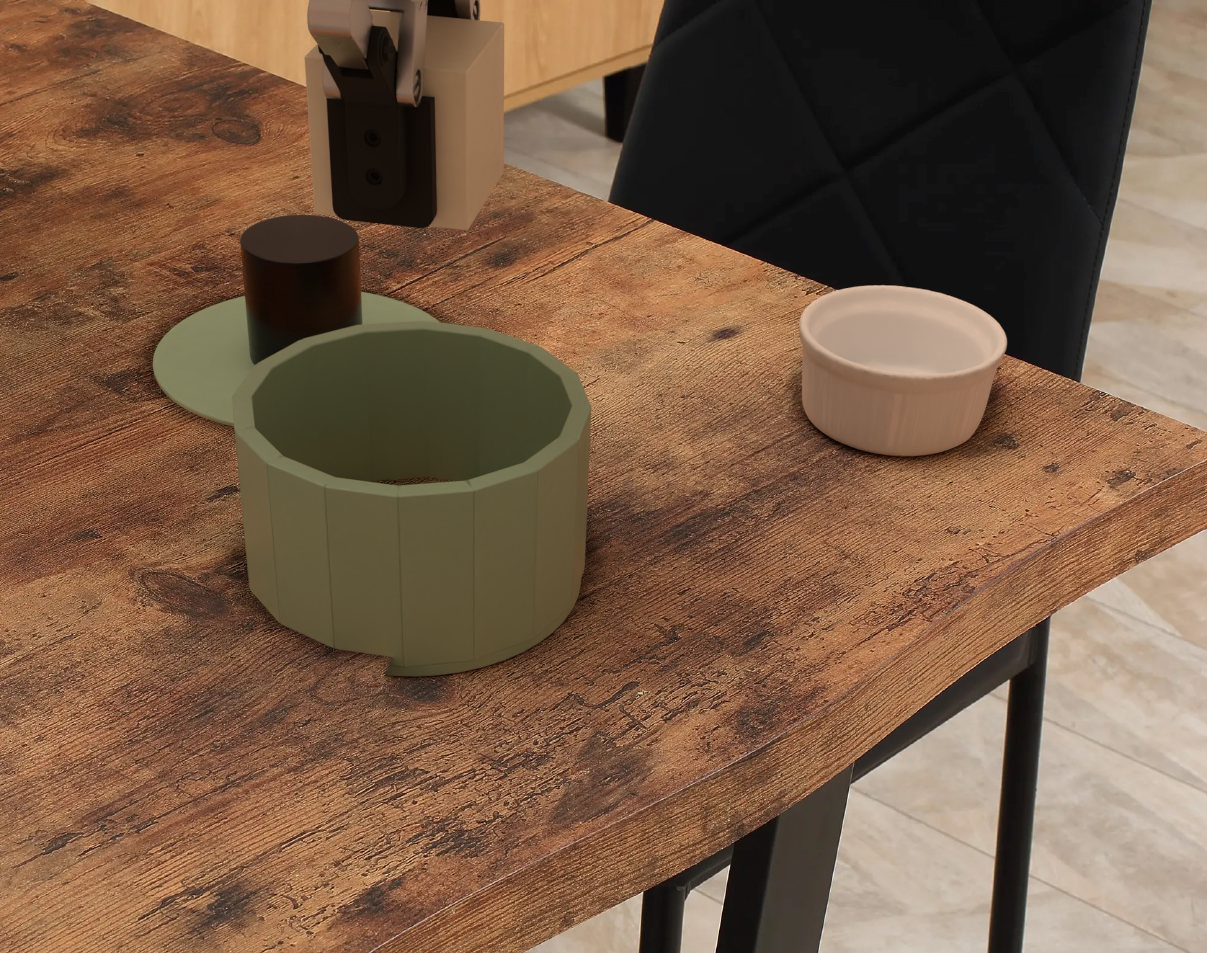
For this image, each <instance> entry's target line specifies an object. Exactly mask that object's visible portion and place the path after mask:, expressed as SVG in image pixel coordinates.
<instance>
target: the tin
mask: <svg viewBox="0 0 1207 953" xmlns="http://www.w3.org/2000/svg"><path fill="white" fill-rule="evenodd" d="M232 407H233V419H234V427H233V429H234V440H235V450H236V461H237V471H238V482H239V492H240V503H241V513H242V522H243V523H242V524H243V534H244V545H245V556H246V565H247V577H248V587H249V590H250V591H251V593H252V594H253V595H254V596H255V597H256V598H257V599H258V600H259V602H260V603H261V604H262V605H263V606H264V607H265V609H266V610H267V611H268V612H269V613H270V614H271V615H272V617H273V618H274V619H275V620H276V621H277V622H278V623H279V624H280V625H281V626H284V627H286V628H289V629H290V630H293V631H295V632H297V633H299V634H301V635H304V636H306V637H308V638H309V639H312V640H314V641H316V642H319V643H321V644H324V645H325V646H327V647H330V648H332V649H335V650H341V651H349V652H356V653H362V654H367V655H375V656H382V657H388V658H391V660H390V661H389V663H388V666H387V667H386V670H385V672H384V676H389V677H413V678H415V677H431V676H433V677H434V676H444V675H451V674H458V673H464V672H468V671H469V672H470V671H473V670H477V669H481V668H485V667H488V666H489V667H490V666H491V665H494V664H497V663H501V662H503V661H506V660H508V659H511V658H513V657H516V656H518V655H521V654H522V653H524V652H526V651H528V650H529V649H531V648H533V647H535V646H536V645H538V644H540V643H541V642H542V641H543V640H545V639H547V638H548V637H549V636H550V635H552V634H553V633H554V632H555V631H556V630H557V629H558V628H559V627H560V626H561V625H562V624H563V623H564V622H565V621H566V619H567V618H568V616H569V615H570V614H571V612H572V611H573V609H574V607H575V605H576V603H577V601H578V598H579V595H580V591H581V587H582V586H581V585H582V577H583V575H584V571H585V568H586V544H587V543H586V542H587V525H588V524H587V521H588V498H589V478H590V477H589V476H590V473H589V472H590V454H591V451H590V450H591V433H592V432H591V431H592V429H591V428H592V411H593V410H592V409H593V408H592V404H591V402H590V400H589V397H588V395H587V393H586V390H585V388H584V385H583V383H582V381H581V379H580V376H579V373H577V371H575V370H573V369H572V368H571V367H569V366H568V365H567V364H566V363H564V362H563V361H561V360H560V359H558V358H557V357H556V356H554V355H553V354H552V353H550V352H549V351H548V350H547V349H545V348H544V347H542V346H540V345H537V344H534V343H531V342H528V341H527V340H523V339H519V338H517V337H514V336H511V335H508V334H506V333H502V332H499V331H497V330H494V329H490V328H487V327H480V326H471V325H465V324H455V323H447V322H440V321H439V322H432V321H425V322H424V321H410V322H392V323H375V324H361V325H355V326H351V327H347V328H343V329H339V330H335V331H331V332H327V333H324V334H320V335H316V336H312V337H308V338H304V339H302V340H299V341H297V342H295V343H293V344H292V345H290V346H288V347H286V348H284V349H283V350H281V351H279V352H277V353H275V354H273V355H272V356H270V357H268V358H266V359H264V360H263V361H261V362H259V363H257V364H256V365H255V366H254V367H253V369H252V370H251V371H250V373H249V374H248V375H247V377H246V378H245V379H244V381H243V382H242V383H241V385H240V386H239V387H238V389H237V390H236V391H235V393H234V394H233V396H232ZM418 478H432V479H439V480H445V481H441V482H429V483H428V482H427V483H413V484H402V485H396V484H391V483H390V484H388V483H381V482H380V481H391V480H405V479H406V480H407V479H418ZM446 480H447V481H446Z"/></svg>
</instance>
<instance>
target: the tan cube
mask: <svg viewBox="0 0 1207 953" xmlns="http://www.w3.org/2000/svg"><path fill="white" fill-rule="evenodd" d="M369 10H370V9H369ZM370 12H371V14H372V16H373V19H372V23H373V25H374V26H383V27H386V28H387V30H388V32H389V34H390V36H391V38H392V39H393V43H394V45H395V48H396V50H398V28H399V13H396V12H390V11H381V10H370ZM304 71H305V72H304V73H305V87H306V102H307V118H308V119H307V120H308V135H309V150H310V152H309V153H310V166H311V168H310V169H311V182H312V198H313V200H312V201H313V212H314V214H316V215H321V216H332V217H333V216H334V217H338V216H337V215H336V214H335V213H334V211H333V206H332V188H331V170H330V153H329V135H328V117H327V100H326V96H325V94H324V91H323V56H322V54H320V53H319V50H318V44H317V43H316V45H315V46H314V47H313V48H312V49H310V50H309V52H307V53H306V55H305V56H304ZM422 96H429V97H435V137H436V189H437V214H436V217H435V219H434V220H433V222H432V223H431V225H429V226H428V227H431V228H441V229H442V228H443V229H451V230H459V231H469V230H470V227H471V226H472V225H473V224H474V221H475V219H476V218H477V216H478V215H479V213H480V211H481V210H482V208H483V207H484V205H485V203H486V201H487V200H488V199H489V197H490V196H491V193H492V192H493V190H494V189H495V187H496V185H497V183H499V180H500V179H501V177H502V176H503V174H504V172H505V170H504V169H505V168H504V167H505V165H504V164H505V148H504V147H505V23H504V22H501V21H490V20H489V21H488V20H481V19H480V20H470V19H459V18H448V17H438V16H427V24H426V44H425V64H424V84H423V94H422Z"/></svg>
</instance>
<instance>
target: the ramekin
mask: <svg viewBox="0 0 1207 953" xmlns="http://www.w3.org/2000/svg"><path fill="white" fill-rule="evenodd" d="M798 330H799V338H800V342H801V345H802V356H801V357H802V358H801V360H802V362H801V365H802V367H801V401H802V406H803V410H804V413H805V414H806V416H807V418H808V420H809V422H810V423H812V425H814V427H815V428H816V429H818V430H819V431H820V432H822V433H823V434H824V435H826V436H828V437H829V438H830V439H833V440H834V441H835V442H838V443H840V444H843V445H846V446H848V447H850V448H854V449H855V450H860V451H862V452H867V453H873V454H875V455H876V454H877V455H883V456H892V457H894V456H895V457H918V456H927V455H933V454H934V455H935V454H938V453H942V452H946V451H950V450H951V449H953V448H956V447H958V446H960V445H962V444H965V442H967V441H968V440H969V439H970V438H972V436H973V435H974V434H975V432H976V431H977V429H978V427H979V426H980V423H981V421H982V420H983V416H984V413H985V412H986V408H987V405H988V401H989V398H990V394H991V391H992V386H993V383H994V379H995V377H996V376H995V375H996V372H997V369H998V368H999V367H1000V364H1001V362H1002V361H1003V358H1004V356H1005V353H1006V351H1007V347H1008V338H1007V334H1006V332H1005V330H1004V329H1003V326H1001V324H1000V323H999V322H998V321H997V320H996V319H995V318H994V317H993V316H992V315H990V314H988V313H987V312H986V311H984V310H983V309H981V308H979V307H978V306H976V305H974V304H971V303H969V302H967V301H965V300H962V299H960V298H957V297H954V296H951V295H947V294H945V293H942V292H937V291H932V290H929V289H923V288H917V287H911V286H909V287H908V286H901V285H885V284H881V285H878V284H877V285H875V284H874V285H859V286H852V287H848V288H842V289H837V290H834V291H831V292H828V293H825V294H823V295H822V296H819V297H818V298H816V299H814V300H813V301H812V302H810V304H809V305H807V306H806V307H805V308H804V310H803V311H802V313H801V314H800V318H799V323H798Z"/></svg>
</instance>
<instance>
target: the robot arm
mask: <svg viewBox="0 0 1207 953" xmlns="http://www.w3.org/2000/svg"><path fill="white" fill-rule="evenodd" d="M307 4H308V6H307V12H306V13H307V14H306V20H307V21H306V24H307V29H308V32H309V34H310V35H311V37H312V38H313V40H314V41H315V43H316V45H317V44H318V50H319V53H320V54H322V56H323V91H324V94H325V96H326V100H327V117H328V135H329V153H330V170H331V188H332V206H333V211H334V213H335V214H336V215H337V216H336V217H337V218H339V219H341V220H343V221H349V222H358V223H359V222H360V223H367V224H376V225H377V224H378V225H387V226H395V227H404V228H405V227H406V228H412V229H413V228H414V229H426V228H428V227H430V226H429V225H431V223H432V222H433V220H434V219H435V217H436V214H437V189H436V137H435V97H429V96H422V94H423V84H424V64H425V44H426V24H427V16H438V17H448V18H459V19H470V20H480V21H481V0H308V3H307ZM370 10H374V11H385V12H396V13H399V28H398V50H396V48H395V45H394V43H393V39H392V38H391V36H390V34H389V32H388V30H387V28H386V27H383V26H374V25H373V23H372V19H373V16H372V14H371V12H370Z"/></svg>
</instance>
